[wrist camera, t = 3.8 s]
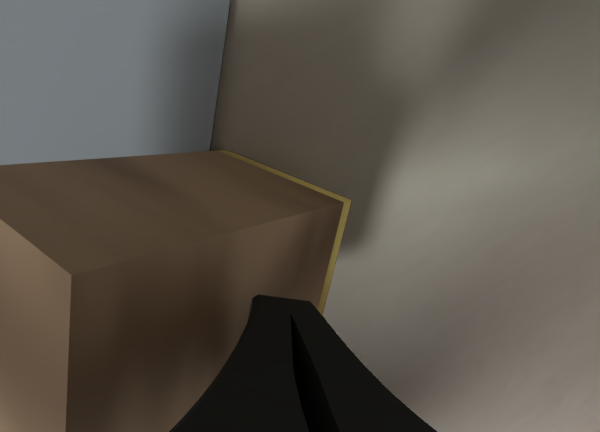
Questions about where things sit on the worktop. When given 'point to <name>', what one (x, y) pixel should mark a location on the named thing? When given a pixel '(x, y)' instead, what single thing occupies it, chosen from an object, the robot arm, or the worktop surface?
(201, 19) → the grey mat
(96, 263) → the brown wooden block
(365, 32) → the worktop surface
